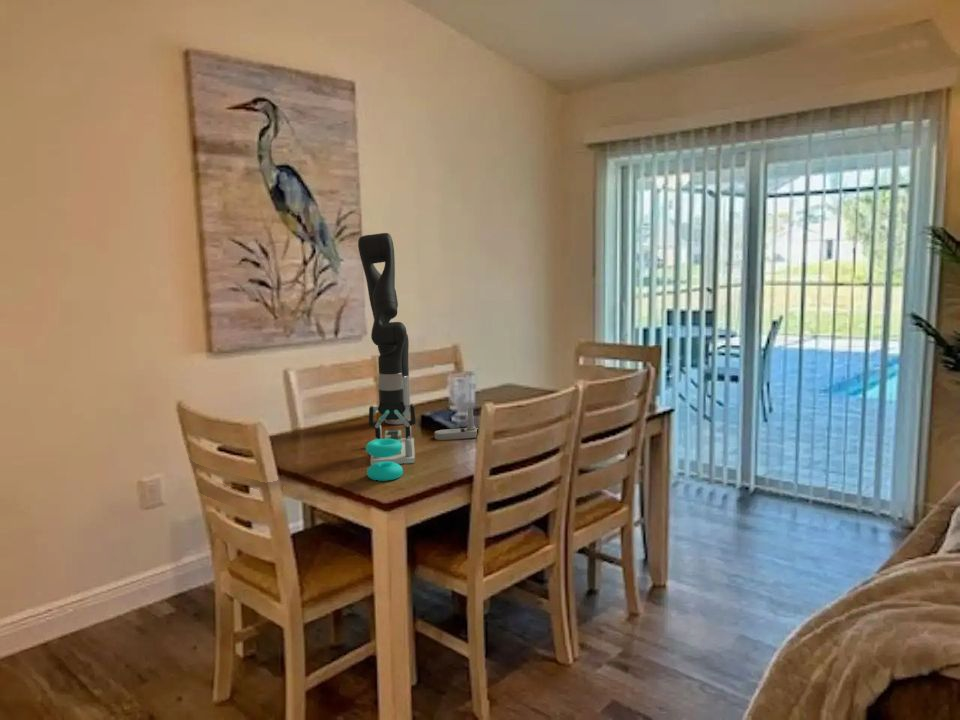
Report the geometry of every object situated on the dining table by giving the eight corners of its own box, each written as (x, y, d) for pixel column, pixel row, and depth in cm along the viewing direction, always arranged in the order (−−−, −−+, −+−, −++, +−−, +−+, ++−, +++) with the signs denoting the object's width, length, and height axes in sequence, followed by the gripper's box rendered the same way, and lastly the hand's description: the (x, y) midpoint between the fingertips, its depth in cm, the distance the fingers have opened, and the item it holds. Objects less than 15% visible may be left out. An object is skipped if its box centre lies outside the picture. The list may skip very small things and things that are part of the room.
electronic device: (433, 409, 251) (477, 406, 252) (434, 437, 253) (478, 434, 254) (433, 413, 246) (478, 410, 247) (435, 441, 247) (480, 438, 248)
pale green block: (385, 442, 239) (385, 428, 238) (401, 442, 240) (401, 427, 239) (384, 454, 225) (384, 439, 225) (401, 454, 226) (400, 438, 225)
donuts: (406, 437, 211) (395, 447, 202) (407, 472, 213) (397, 483, 203) (372, 436, 213) (360, 446, 203) (373, 470, 215) (362, 481, 205)
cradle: (373, 444, 244) (373, 424, 243) (413, 442, 245) (413, 422, 244) (370, 465, 220) (369, 443, 219) (415, 462, 222) (414, 441, 221)
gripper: (414, 384, 234) (415, 434, 236) (368, 385, 233) (370, 436, 235) (414, 388, 227) (416, 440, 229) (366, 390, 225) (369, 442, 228)
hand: (392, 438), depth 232 cm, fingers open, 8 cm apart
